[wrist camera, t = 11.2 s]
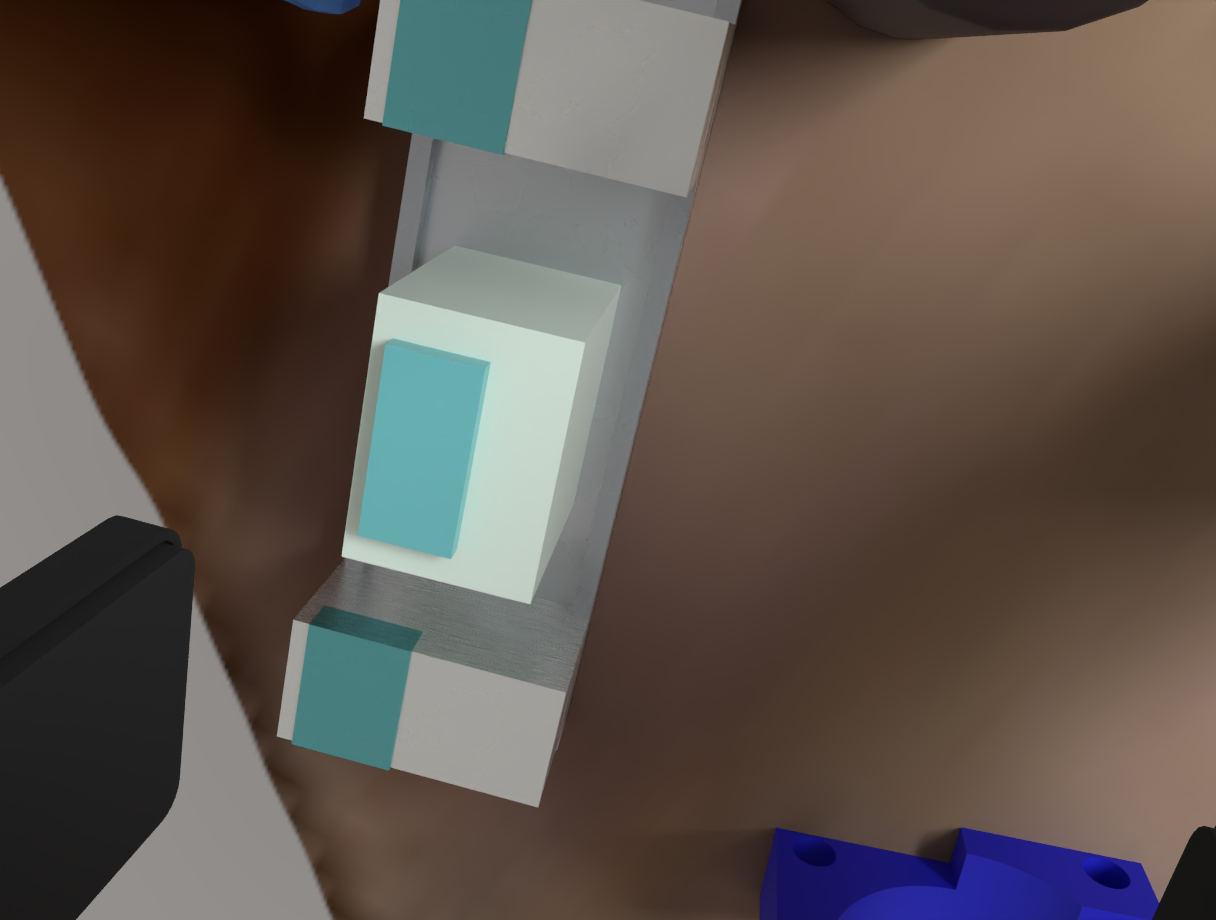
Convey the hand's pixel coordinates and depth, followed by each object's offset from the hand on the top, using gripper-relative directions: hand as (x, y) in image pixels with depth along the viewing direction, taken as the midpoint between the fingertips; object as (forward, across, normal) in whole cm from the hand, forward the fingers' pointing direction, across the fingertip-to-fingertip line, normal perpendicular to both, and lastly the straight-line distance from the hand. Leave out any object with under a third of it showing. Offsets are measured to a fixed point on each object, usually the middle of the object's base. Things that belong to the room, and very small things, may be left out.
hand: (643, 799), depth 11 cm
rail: (+25, +7, +4) cm, 26 cm away
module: (+24, +7, +4) cm, 25 cm away
